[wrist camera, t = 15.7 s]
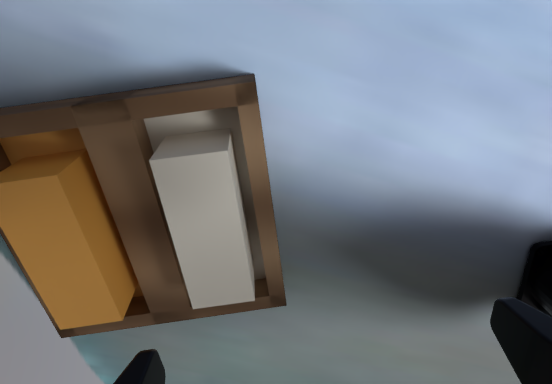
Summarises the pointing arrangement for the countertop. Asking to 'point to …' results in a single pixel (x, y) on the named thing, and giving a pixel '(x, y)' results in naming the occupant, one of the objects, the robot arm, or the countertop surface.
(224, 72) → the countertop surface
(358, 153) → the countertop surface
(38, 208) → the tall amber prism
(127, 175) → the slot board
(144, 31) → the countertop surface
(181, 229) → the off-white square pillar
